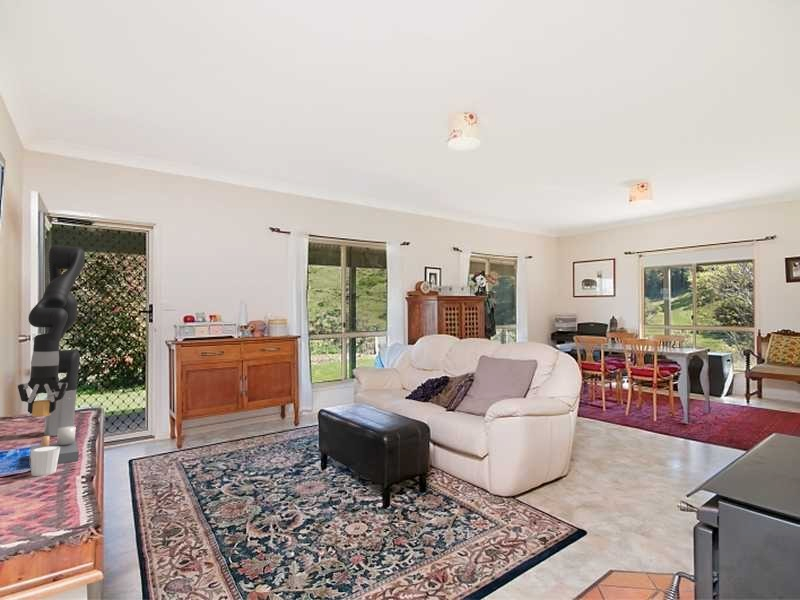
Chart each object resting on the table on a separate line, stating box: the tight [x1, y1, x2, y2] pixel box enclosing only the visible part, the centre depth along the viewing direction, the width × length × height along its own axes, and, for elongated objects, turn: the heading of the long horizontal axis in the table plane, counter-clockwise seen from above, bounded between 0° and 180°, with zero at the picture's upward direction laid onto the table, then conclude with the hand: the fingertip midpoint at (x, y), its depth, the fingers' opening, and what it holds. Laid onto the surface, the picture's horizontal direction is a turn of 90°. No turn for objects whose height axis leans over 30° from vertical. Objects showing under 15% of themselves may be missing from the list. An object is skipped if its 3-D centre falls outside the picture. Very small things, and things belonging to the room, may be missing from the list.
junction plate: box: [28, 425, 80, 466], centre depth 139 cm, size 16×12×9 cm
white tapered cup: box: [30, 446, 60, 477], centre depth 126 cm, size 7×7×7 cm
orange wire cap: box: [31, 399, 51, 418], centre depth 149 cm, size 5×5×5 cm
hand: (41, 412), depth 149 cm, fingers closed on orange wire cap, 4 cm apart
